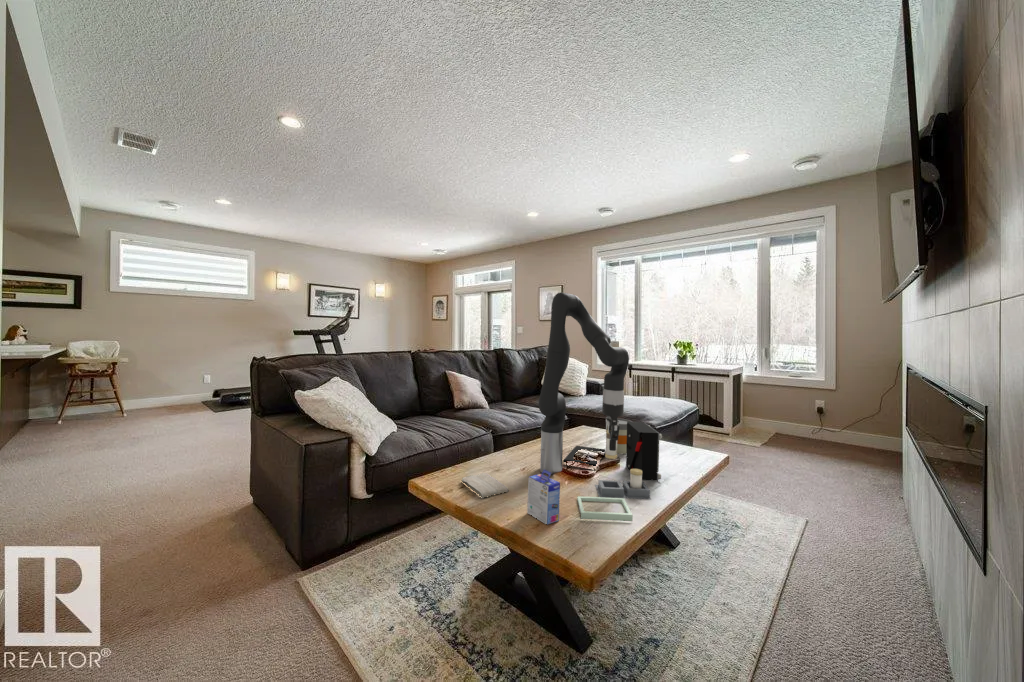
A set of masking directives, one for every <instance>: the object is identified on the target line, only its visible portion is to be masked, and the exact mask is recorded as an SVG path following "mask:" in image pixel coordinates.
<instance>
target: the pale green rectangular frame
mask: <svg viewBox="0 0 1024 682" xmlns="http://www.w3.org/2000/svg"><path fill="white" fill-rule="evenodd" d="M576 499H577V504H578V509H579V513H580V519H582V520H597V521H598V520H600V521H601V520H603V521H618V522H619V521H620V522H633V517H634V516H633V513H632V511H631V510H630V507H629V505H628V503H627V502H626V498H606V497H599V496H583V495H582V496H577V497H576ZM582 501H583V502H602V503H620V504H622V506H623V508H624V510H625V512H611V511H610V512H609V511H608V512H606V511H585V509H584V506H583V502H582Z"/></svg>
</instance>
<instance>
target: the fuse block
mask: <svg viewBox="0 0 1024 682" xmlns="http://www.w3.org/2000/svg"><path fill="white" fill-rule="evenodd" d="M629 472H630V475H629V476H630V479H629V480H622V483H621V481H620V480H613V479H612V480H610V479H609V480H608V479H597V480H598V484H594V487H595V489H596V492H597V495H598V497H605V498H624V499H628V500H629V499H633V500H652V498H651V490H650V488H649V487H648V485H647V484H646V483H645V481H643V480H642V470H640V469H630V471H629Z"/></svg>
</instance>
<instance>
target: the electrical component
mask: <svg viewBox="0 0 1024 682" xmlns="http://www.w3.org/2000/svg"><path fill="white" fill-rule="evenodd" d="M662 439H663V434H662V433H659V431H657V430H656V429H655V428H653V427H652V426H651V425H650V424H647V423H646V422H643V421H632V422H627V446H626V454H625V455H626V456H625V468H627V471H629V472H630V469H640V470H642V481H654V482H655V481H656V482H657V483H659V480H661V479H662V474H661V473H660V472H659V470H660V469H659V466H660V464H659V463H660V440H662Z"/></svg>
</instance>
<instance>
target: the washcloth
mask: <svg viewBox="0 0 1024 682" xmlns="http://www.w3.org/2000/svg"><path fill="white" fill-rule="evenodd" d="M461 481H462V482H463V483H465V484H466V485H467V486H468V487H470V488H471V489H472V490H473V491H475V492H476V493H477V494H479V496H481V497H482V498H481V499H485V498H484V497H487V496H490V497H492V496H491V495H494V494H499V495H501V494H500V493H502V494H505V493H504V492H506V493H508V492H509V487H508V486H506V485H505V484H504V483H502V482H501V481H500V480H498V479H497V478H496V477H493V476H491V474H489V473H488V472H482V473H480V474H475V475H468V476H464V477H462V479H461ZM461 481H460V482H461ZM462 482H461V483H462ZM463 483H462V484H463ZM494 496H495V495H494ZM487 498H488V497H487Z"/></svg>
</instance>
